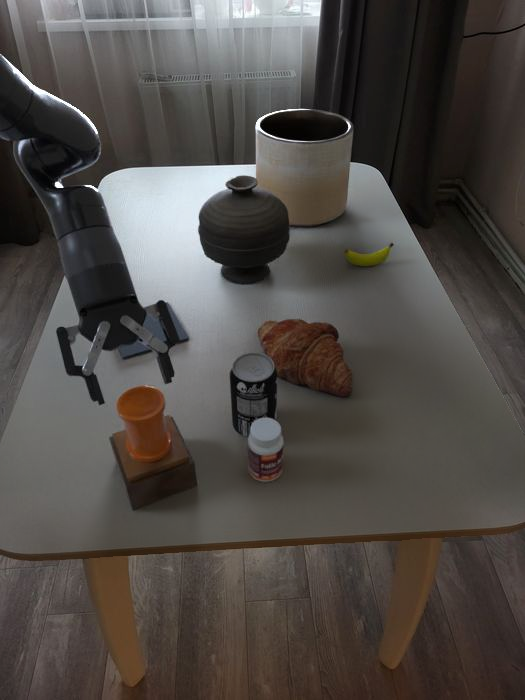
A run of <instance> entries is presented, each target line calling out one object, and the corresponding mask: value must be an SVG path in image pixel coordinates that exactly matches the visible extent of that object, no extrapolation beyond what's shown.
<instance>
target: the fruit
mask: <svg viewBox="0 0 525 700" xmlns="http://www.w3.org/2000/svg"><path fill="white" fill-rule="evenodd" d="M394 245H395V244H394V243H393V242H390V244H388V245H387V246H386V247H384V248H382V249H380V250H378V251H375V252H372V253H366V254H364V253H363V254H362V253H358V252H356V251H352V250H350V249H345V250H344V254H345V257H346V259H347V261H348V262H349V263H351V264H352V265H355V266H358V267H359V266H360V267H371V266H372V267H373V266H376V265H379V264H381V263H382V262H384V261H386V260H387V258H388V257H389V255H390V251H391V248H392V247H393V246H394Z"/></svg>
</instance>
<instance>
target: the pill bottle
mask: <svg viewBox="0 0 525 700" xmlns="http://www.w3.org/2000/svg"><path fill="white" fill-rule="evenodd" d="M284 444H285V443H284V437H283V434H282V427H281V425H280V423H279V422H278V421H277V419H276V420H274V419H271V418H260V419H257V420H256V421H254V422H253V423H252V425H251V428H250V435H249V437H248V438H247V462H248V463H247V465H248V468H247V469H248V472H249V474H250V476H251V477H252V478H253V479H254V480H256V481H259V482H262V483H269V482H272V481H274V480H277V479H278V478H279V477H280V476H281V475H282V472H283V465H284V463H283V461H284Z"/></svg>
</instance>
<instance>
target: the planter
mask: <svg viewBox="0 0 525 700" xmlns="http://www.w3.org/2000/svg"><path fill="white" fill-rule="evenodd" d="M353 139H354V124H353V122H352V121H350V119H348V118H347V117H344V116H343V115H340V114H338V113H334V112H331V111H326V110H320V109H307V108H298V109H297V108H296V109H295V108H294V109H286V110H279V111H274V112H272V113H268V114H266V115H264V116H262V117H260V118H259V119H258V120H257V122H256V124H255V178H256V179H257V181H258V184H257V186H256V187H257V188H262V189H265V190H267V191H269V192H270V193H272V194H274V195H275V196H277V197H278V198H279V199H280V200H281V201H282V202H283V203H284V204H285V206H286V208H287V210H288V217H289V226H292V227H313V226H320V225H323V224H326V223H330V222H331V221H333V220H335V219H337V218H338V217H340V216H341V215H343V213H344V212H345V210H346V208H347V203H348V196H349V195H348V194H349V183H350V172H351V171H350V169H351V158H352V147H353Z"/></svg>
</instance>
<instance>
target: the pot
mask: <svg viewBox="0 0 525 700" xmlns="http://www.w3.org/2000/svg"><path fill="white" fill-rule="evenodd" d="M257 184H258V181H257V179H256V177H254V176H252V175H243V174H242V175H236V176H235V177H234V176H232V177H229V178H228V180H227V181H225V187H226V189H223V190H220V191H218V192H216V193H215V194H213V195H212V196H210V197H209V198H208V199H207V200H206V201H205V202H204V203H203V204H202V206H201V208H200V209H199V213H198V220H199V222H198V228H197V233H198V236H199V243H200V245H201V248H202V251H203V253H204V254H203V255H204V256H205V257H206V258H207V259H210V260H211V261H212V262H214V263H217V264H220V265H221V267H220V275H221V277H222V278H223V279H224V280H226V281H227V282H230V283H233V284H235V285H246V286H247V285H254V284H258V283H261V282H264V280H266V279H268V277H270V273H271V268H270V263H272V262H274V261H276V260H277V259H279V258H280V257H281V256H283V254H285V252H286V250H287V248H288V244H289V242H290V229H291V227H290V226H291V225H289V217H288V210H287V208H286V206H285V204H284V203H283V202H282V201H281V200H280V199H279V198H278V197H277V196H275V195H274V194H272V193H270V192H269V191H267V190H265V189H262V188H257V187H256V186H257Z"/></svg>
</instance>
